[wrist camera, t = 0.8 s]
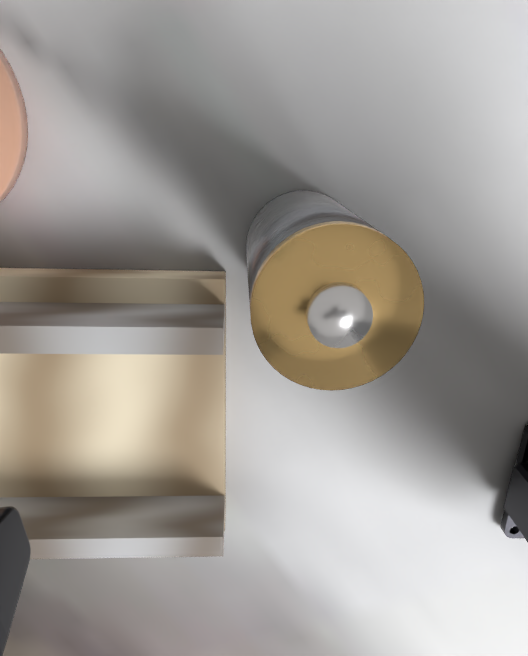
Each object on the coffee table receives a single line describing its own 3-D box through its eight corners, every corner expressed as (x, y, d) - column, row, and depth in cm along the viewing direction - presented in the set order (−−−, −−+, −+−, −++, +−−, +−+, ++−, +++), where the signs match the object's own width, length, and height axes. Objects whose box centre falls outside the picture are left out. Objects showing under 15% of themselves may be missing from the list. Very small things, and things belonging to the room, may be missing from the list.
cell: (362, 191, 19) (442, 229, 12) (351, 301, 21) (416, 397, 13) (247, 188, 19) (252, 226, 12) (245, 299, 21) (249, 397, 13)
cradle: (225, 271, 20) (222, 299, 17) (225, 512, 25) (223, 574, 21) (-140, 265, 19) (-222, 294, 16) (-75, 515, 24) (-128, 581, 20)
